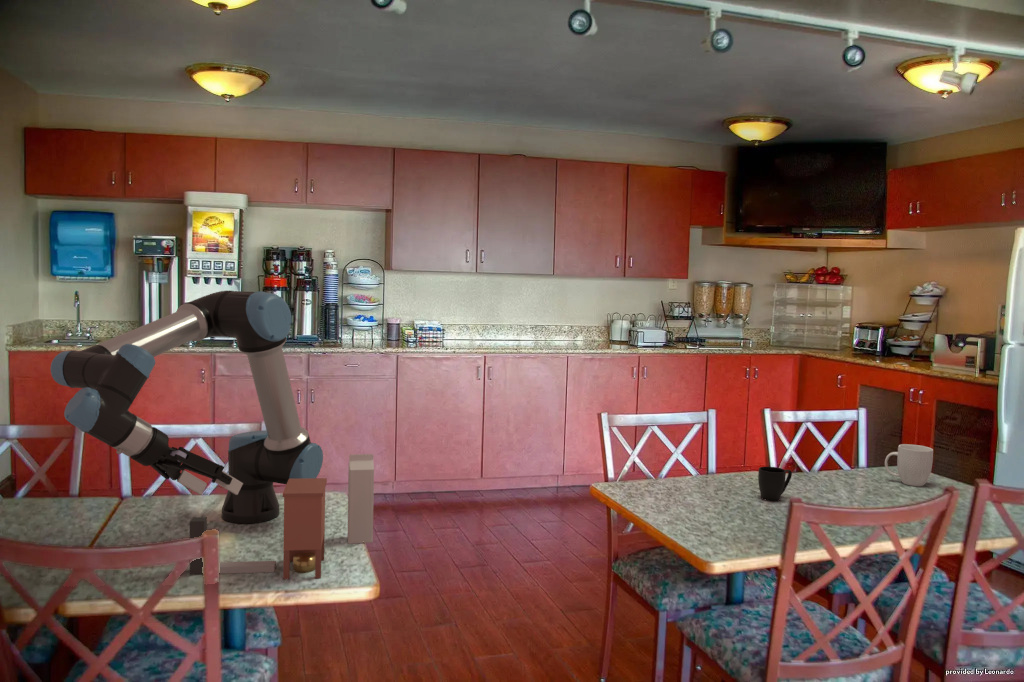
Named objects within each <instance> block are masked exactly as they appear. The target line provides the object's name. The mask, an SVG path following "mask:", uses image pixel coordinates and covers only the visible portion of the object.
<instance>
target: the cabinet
mask: <svg viewBox="0 0 1024 682" xmlns="http://www.w3.org/2000/svg"><path fill="white" fill-rule="evenodd" d="M327 479H328V478H327V477H323V478H318V477H316V478H301V479H289V480H288V482H287V484H285V487H284V490H283V492H282V496H281V497H282V498H283V566H282V567H283V570H282V571H283V575H282V576H283V577H282V579H283V580H289V579H290V573H291V572H290V570H291V569H290V565H291V563H290V562H293V556H294V555H296V554H299V553H313V554H315V570H314V578H315V579H321V578H322V561H325V542H326V541H325V535H326V534H325V532H326V529H325V527H326V524H325V523H326V521H325V520H326V486H327V482H328V481H327Z"/></svg>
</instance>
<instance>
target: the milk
mask: <svg viewBox="0 0 1024 682" xmlns="http://www.w3.org/2000/svg"><path fill="white" fill-rule="evenodd" d="M348 457H349V461H348V473H347V474H348V477H347V478H348V480H347V483H348V485H347V486H348V487H347V491H348V492H347V541H348V544H349V545H351V544H355V545H356V544H371V543H373V542H374V541H373V540H374V536H373V535H374V493H375V492H374V491H375V490H374V489H375V487H374V486H375V468H374V467H375V466H374V454H373V453H370V454H369V453H365V454H363V453H361V454H349V455H348ZM363 541H364V543H363Z"/></svg>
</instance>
